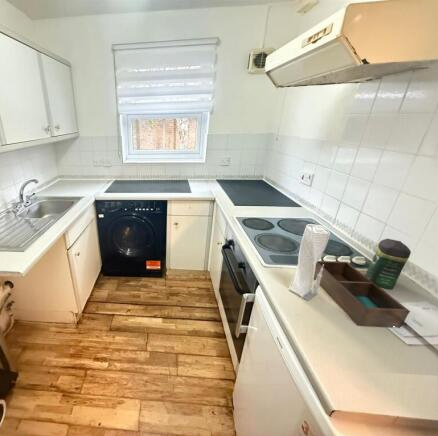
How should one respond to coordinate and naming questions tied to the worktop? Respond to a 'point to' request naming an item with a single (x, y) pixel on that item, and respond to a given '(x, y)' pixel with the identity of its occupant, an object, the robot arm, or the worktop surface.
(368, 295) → the organiser
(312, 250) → the skyscraper
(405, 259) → the coffee jar
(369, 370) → the worktop surface
